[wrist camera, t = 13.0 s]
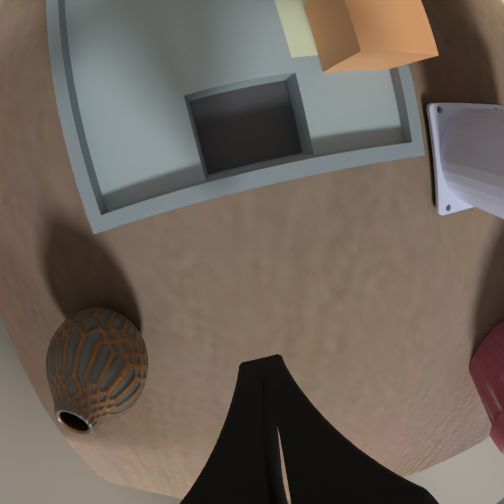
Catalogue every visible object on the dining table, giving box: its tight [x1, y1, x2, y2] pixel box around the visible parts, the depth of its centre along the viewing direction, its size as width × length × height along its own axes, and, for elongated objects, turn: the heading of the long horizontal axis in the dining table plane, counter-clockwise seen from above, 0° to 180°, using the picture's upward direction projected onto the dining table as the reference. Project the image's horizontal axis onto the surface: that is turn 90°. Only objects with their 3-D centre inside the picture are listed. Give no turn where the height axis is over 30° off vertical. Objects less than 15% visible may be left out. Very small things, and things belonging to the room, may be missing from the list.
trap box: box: [46, 0, 425, 234], centre depth 11 cm, size 18×20×3 cm
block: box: [304, 0, 439, 72], centre depth 10 cm, size 4×4×4 cm
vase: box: [46, 308, 148, 435], centre depth 16 cm, size 7×7×9 cm
